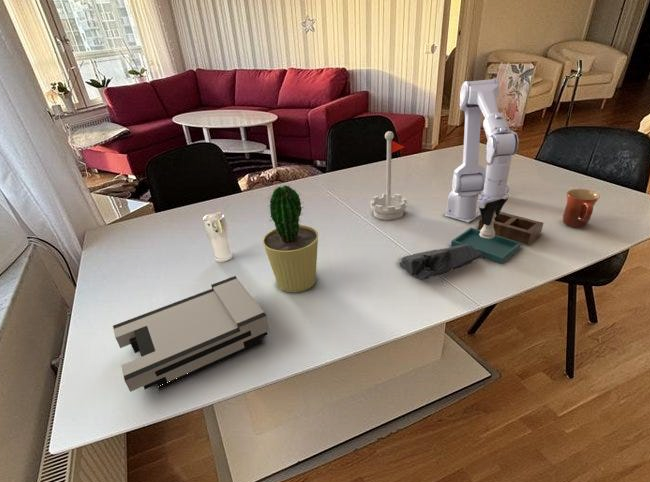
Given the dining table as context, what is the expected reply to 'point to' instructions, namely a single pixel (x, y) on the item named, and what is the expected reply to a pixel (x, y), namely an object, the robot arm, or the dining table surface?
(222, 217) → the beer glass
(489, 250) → the tray
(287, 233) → the potted cactus
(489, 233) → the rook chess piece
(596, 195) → the mug
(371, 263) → the dining table surface
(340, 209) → the dining table surface
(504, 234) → the wooden compartment box
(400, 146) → the flag stand
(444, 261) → the dark slate chunk
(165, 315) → the game console
